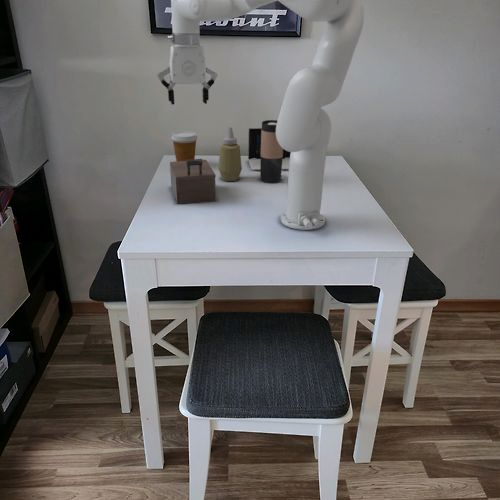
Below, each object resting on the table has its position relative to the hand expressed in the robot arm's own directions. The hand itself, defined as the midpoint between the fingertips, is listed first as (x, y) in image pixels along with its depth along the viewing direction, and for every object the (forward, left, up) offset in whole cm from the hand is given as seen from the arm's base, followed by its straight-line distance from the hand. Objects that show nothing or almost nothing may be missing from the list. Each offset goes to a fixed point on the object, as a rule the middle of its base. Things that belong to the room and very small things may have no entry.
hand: (188, 103), depth 141 cm
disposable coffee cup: (+30, 0, -28) cm, 41 cm away
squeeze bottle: (+12, -14, -28) cm, 34 cm away
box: (-1, 0, -28) cm, 28 cm away
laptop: (+25, -33, -28) cm, 51 cm away
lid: (-1, 0, -20) cm, 20 cm away
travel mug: (+9, -28, -28) cm, 41 cm away
